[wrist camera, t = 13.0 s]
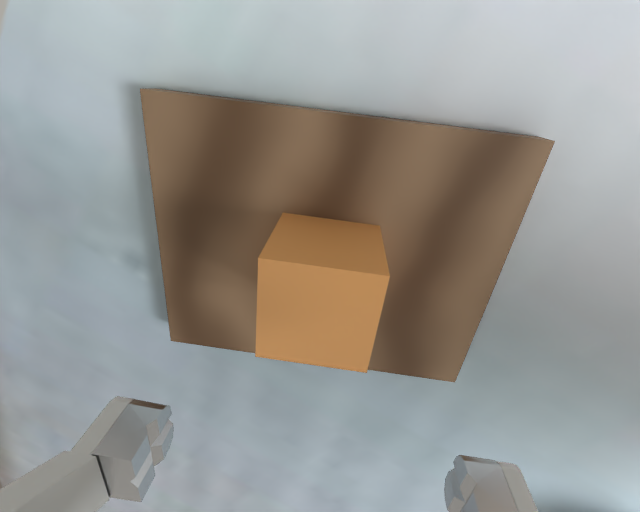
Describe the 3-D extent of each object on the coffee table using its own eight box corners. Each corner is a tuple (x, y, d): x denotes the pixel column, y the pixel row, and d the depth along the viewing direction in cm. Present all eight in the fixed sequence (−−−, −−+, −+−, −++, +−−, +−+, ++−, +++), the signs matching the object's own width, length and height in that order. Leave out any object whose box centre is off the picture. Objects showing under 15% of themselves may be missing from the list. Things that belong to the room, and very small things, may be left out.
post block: (539, 136, 17) (610, 156, 12) (449, 366, 24) (472, 432, 20) (155, 88, 18) (84, 89, 13) (180, 327, 25) (140, 383, 20)
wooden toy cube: (379, 225, 18) (389, 276, 14) (363, 305, 21) (366, 372, 16) (282, 212, 19) (257, 257, 14) (277, 293, 21) (255, 356, 16)
